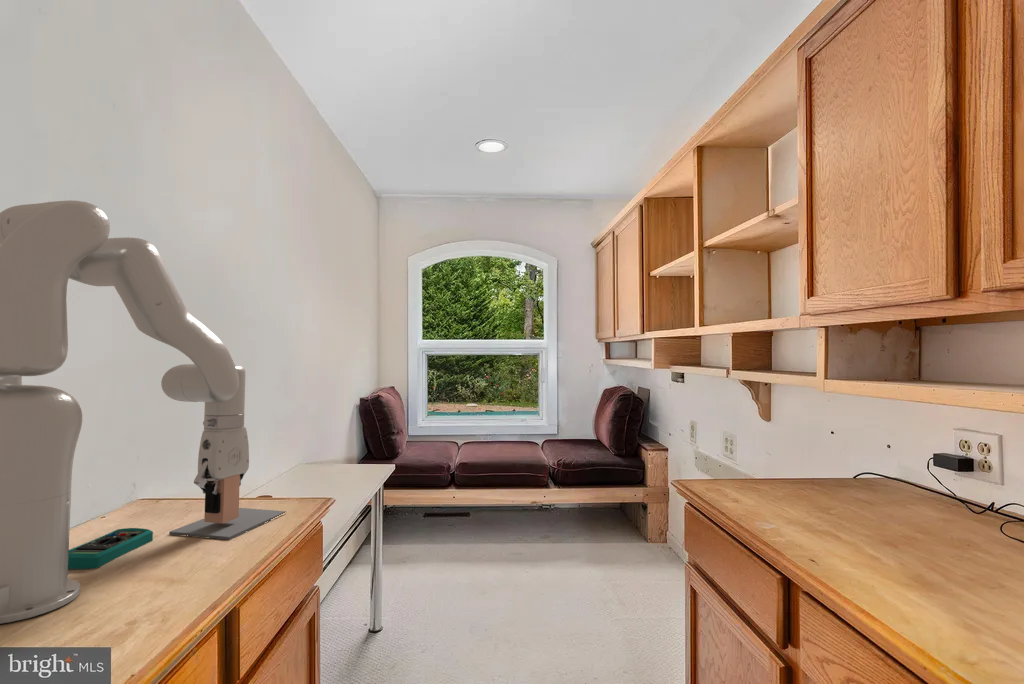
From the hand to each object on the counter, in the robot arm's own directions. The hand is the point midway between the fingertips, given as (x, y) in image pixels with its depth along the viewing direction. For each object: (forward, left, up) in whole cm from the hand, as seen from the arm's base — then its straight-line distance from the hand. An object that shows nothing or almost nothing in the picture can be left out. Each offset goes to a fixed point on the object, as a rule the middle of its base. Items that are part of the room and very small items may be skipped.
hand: (221, 508), depth 110 cm
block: (0, 0, -2) cm, 2 cm away
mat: (+3, 0, -4) cm, 5 cm away
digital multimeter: (-17, +10, -5) cm, 20 cm away
